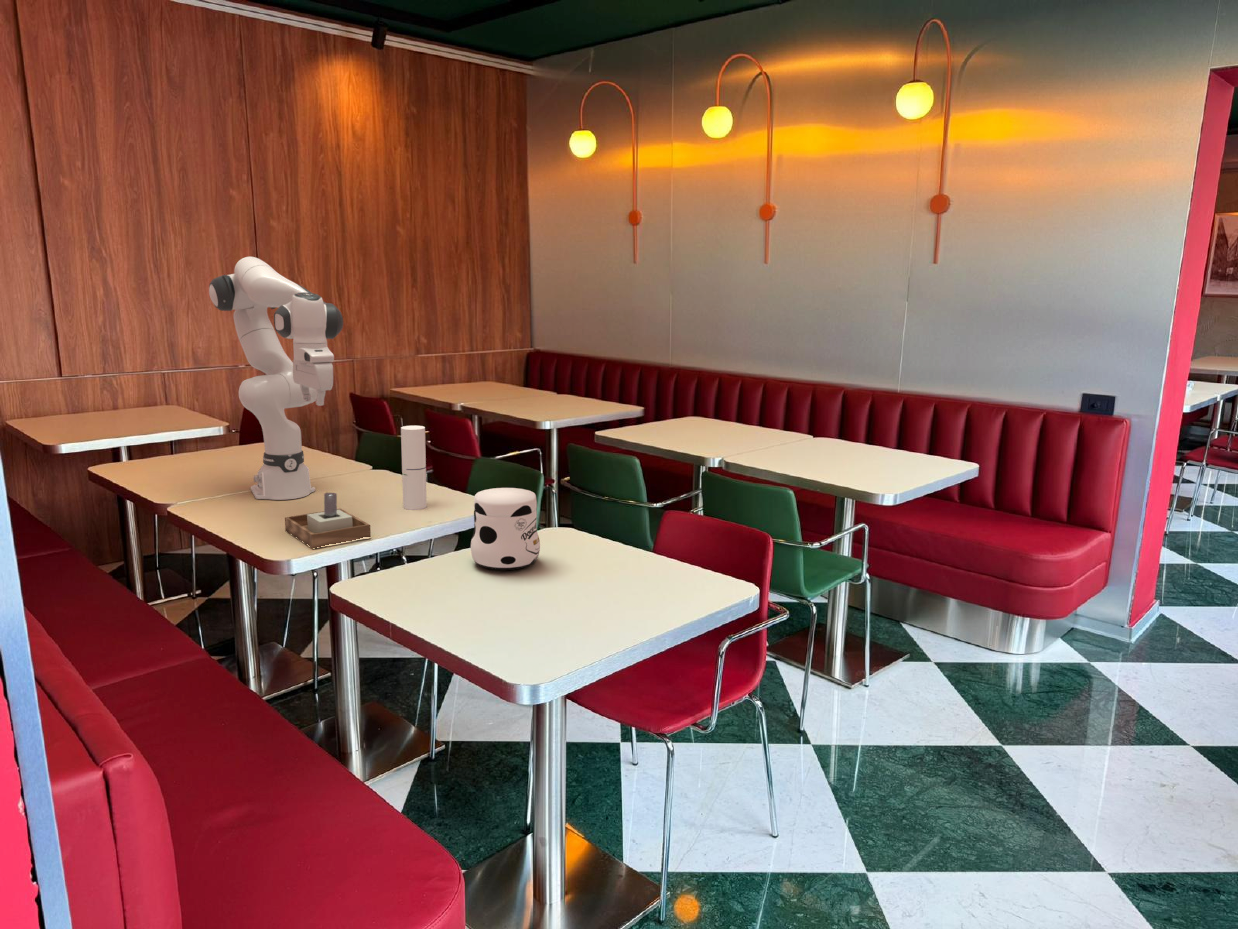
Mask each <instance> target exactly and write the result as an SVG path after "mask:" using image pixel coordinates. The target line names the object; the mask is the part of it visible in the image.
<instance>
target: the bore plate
mask: <svg viewBox="0 0 1238 929" xmlns="http://www.w3.org/2000/svg"><path fill="white" fill-rule="evenodd" d="M319 512H320V513H316V512H313V513H314V514H310V513H306V514H307V524H308V530H309V531H311V532H312V533H314V534H315V533H320V532H326V531H332V530H338V529H344V528H349V527H353V522H352V516H350V515H348V514H346V513H344V512H343V511H341V510H337V517H334V518H328V519H324V512H322V511H319Z"/></svg>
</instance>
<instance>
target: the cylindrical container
mask: <svg viewBox="0 0 1238 929" xmlns="http://www.w3.org/2000/svg"><path fill="white" fill-rule="evenodd" d="M400 436H401V438H400V439H401V440H400V442H401V443H400V444H401V472H402V474H401V476H402V477H401V478H402V480H401V482H402V504H403V505H402V507H403V509H405V510H412V511H414V510H417V511H418V510H419V511H420V510H424V509H426V508H428V507H427V506H428V505H427V504H428V503H427V501H428V500H427V498H428V497H427V464H426V463H427V462H426V461H427V458H426V456H427V455H426V453H427V452H426V427H425V426H423V425H404V426H401V427H400Z"/></svg>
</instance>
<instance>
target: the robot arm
mask: <svg viewBox="0 0 1238 929" xmlns="http://www.w3.org/2000/svg"><path fill="white" fill-rule="evenodd" d="M233 272H234V273H231V274H223V275H220V276H216V278H213V279H212V280H211V281H210V283H209V285H208V287H209V288H208V295H209V298H210V300H211V302H212V304H213V305H214V307H215V308H216V309H217V310H219V311H224V312H232V311H233V310H234V312H233V317H232V318H233V323H234V327H235V331H236V334H237V338H238V341H239V343H240V345H241V348H242V350H243V353H244V356H245V357H246V360H247V362H248V364H249V365H250V366H251V367H252V368H254V369H256V370H258V371H261V372H262V373H264V374H263V375H256V376H253V377H250V378H246V379H245V380H243V381H241V383H240V385H239V388H238V398H239V401H240V403H241V404H242V406H243V407H244V408H245V409H246V410H248V411H249V412H250V413H252V414H253V415H254V416H255V418H256V419H257V420H258V422H259V424H260V426H261V431H262V435H263V445H264V453H263V456H262V462H263V464H262V466H261V467H260V469H259V470H258V471H257V473H256V474H254V475H253V482H254V483H257V484H253V485H251V486H250V491H251V492H252V494H253V496H254V498H255V499H257V500H273V501H276V500H277V501H280V500H281V501H283V500H284V501H285V500H294V499H301V498H304V497H306V496H308V495H310V494H311V493H314V492H316V487H314V486H312V485H311V477H310V469H309V467H308V466H307V464H305V454H304V450H303V448H302V446H303V445H302V430H301V428H300V425H298V423H296V422H294V420H293V421H292V420H290V419H288V417H287V416H286V413H285V409H291V408H300V407H304V406H308V405H309V404H313V403H314V402H315V405H316V406H319V407H321V406H324V405H325V397H326V393H327V392H326V391H331V390H332V389H333V386H334V366H333V362H335V355H334V353H333V352H332V350H330V348H329V347H328V340H334V339H335V338H336V337H337V336H338V335H339V334H340V333H341V331H342V330H343V328H344V318H343V317H344V316H343V314H342V312H341V311H340V309H339V308H338V307H337V306H336V305H334V304H333V303H330V302H325V301H324V300H323V297H322V296H320V295H319V294H317V293H313V292H311V291H310V290H308V289H307V288H306V287H304V286H303V285H301V284H298V283H296V282H294V281H292V280H290V279H288V278H286V277H285V276H284V275H281V274H280V273H278V271H276V270H275V269H274V268H273V267H272V266H271V265H269V264H268V263H266V262H265V261H264V260H262V259H261V258H258V257H254V256H246V257H243V258H241V259H239V260H238V261H237V263H236V264H235V265H234V271H233ZM268 308H270V309H272V310H275V309H276V308H277V309H276V310H275V312H274V313H273V324H272V322H271V320H270V317H269V315H268V314H269V313H268ZM273 325H274V326H273ZM277 333H278V335H279V336H281V337H282V338H283V339H289V340H292V339H293V341H292V344H293V345H292V346H293V347H292V348H293V361H292V360H291V358H290V357H289V356H288V355H287V353H286V351H285V350H284V348H283V346H282V344H281V342H280V340H279V337H278V335H277Z"/></svg>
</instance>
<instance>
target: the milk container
mask: <svg viewBox="0 0 1238 929" xmlns="http://www.w3.org/2000/svg"><path fill="white" fill-rule="evenodd" d="M473 499H474V500H473V507H474V511H473V519H474V520H473V521H474V522H473V523H474V524H473V526H474V528H473V533H472V536H471V539H470V540H471V541H470V551H471V557H472V560H473V561H474V562H475V564H477V565H479V566H480V567H482V568H485V569H489V570H497V571H511V570H519V569H523V568H528V567H529V566H531V565H533V564H535V563H536V561H537V560H538V558H539V555H540V551H541V541H540V537H539V534H538V528H537V527H538V526H537V518H538V517H537V516H538V514H537V513H538V511H537V508H538V507H537V506H538V502H537V495H536V493H535V492H533V491H531V490H529V489H524V488H516V487H496V488H489V489H484V490H481V491H478V492H476V494H474V498H473Z"/></svg>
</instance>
